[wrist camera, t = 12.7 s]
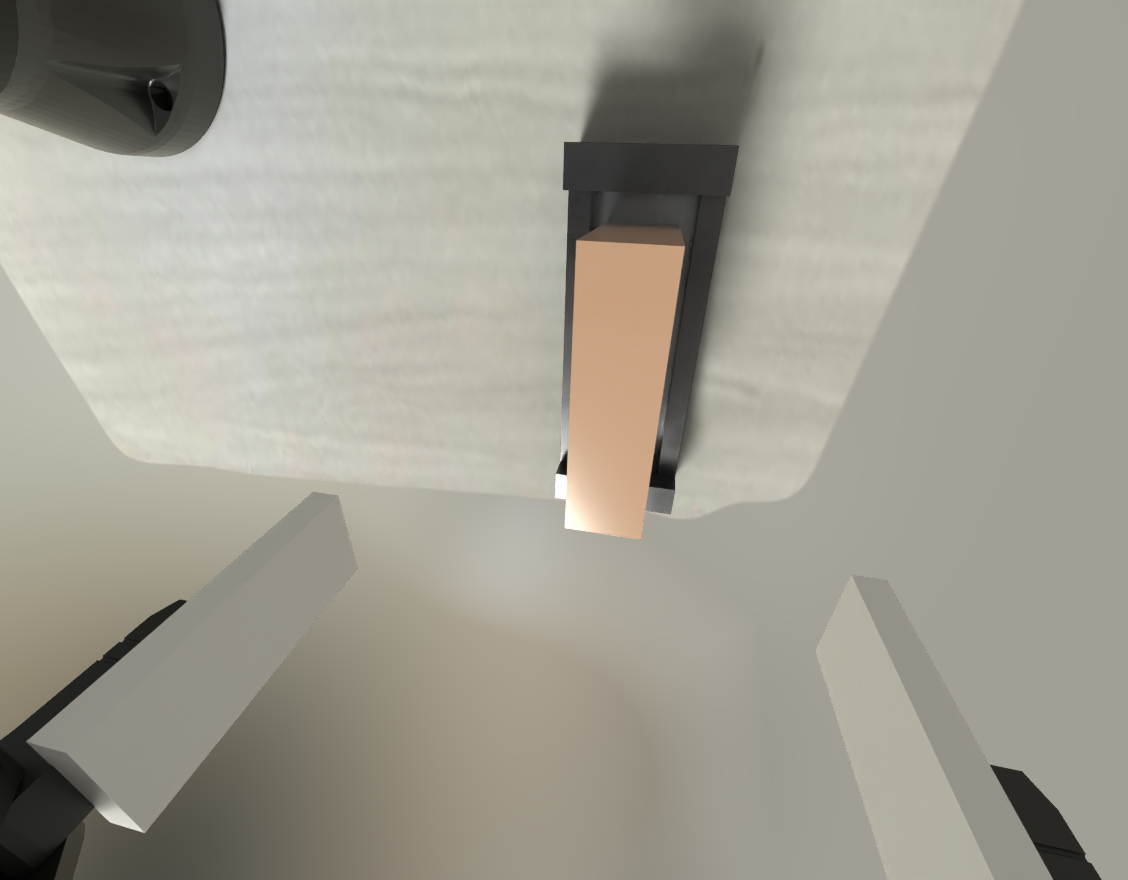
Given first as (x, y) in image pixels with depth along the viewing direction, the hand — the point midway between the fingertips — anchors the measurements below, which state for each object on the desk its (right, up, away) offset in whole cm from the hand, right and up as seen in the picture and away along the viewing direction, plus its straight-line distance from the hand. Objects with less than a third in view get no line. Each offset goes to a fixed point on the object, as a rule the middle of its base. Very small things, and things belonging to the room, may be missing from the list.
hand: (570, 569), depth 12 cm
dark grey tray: (+4, +10, +18) cm, 21 cm away
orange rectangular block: (+4, +9, +17) cm, 20 cm away
